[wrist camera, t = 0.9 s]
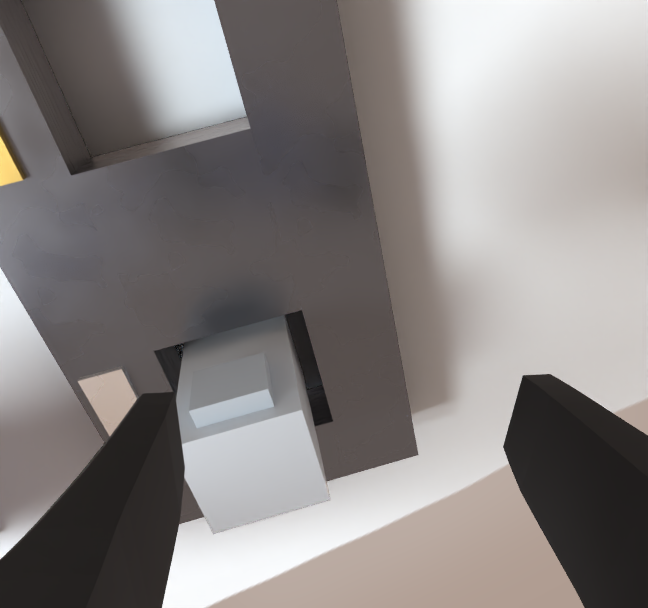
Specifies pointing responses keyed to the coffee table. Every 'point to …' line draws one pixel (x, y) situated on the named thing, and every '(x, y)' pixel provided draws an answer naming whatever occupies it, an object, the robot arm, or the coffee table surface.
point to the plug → (248, 426)
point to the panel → (208, 232)
